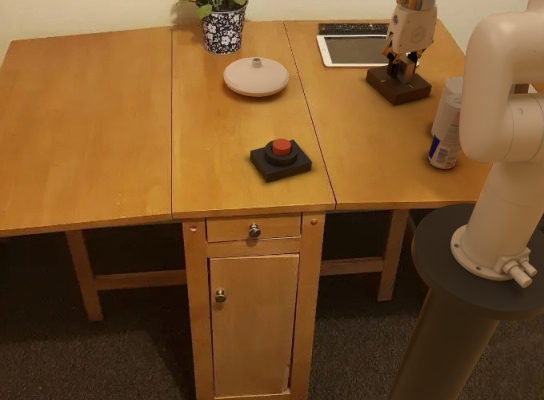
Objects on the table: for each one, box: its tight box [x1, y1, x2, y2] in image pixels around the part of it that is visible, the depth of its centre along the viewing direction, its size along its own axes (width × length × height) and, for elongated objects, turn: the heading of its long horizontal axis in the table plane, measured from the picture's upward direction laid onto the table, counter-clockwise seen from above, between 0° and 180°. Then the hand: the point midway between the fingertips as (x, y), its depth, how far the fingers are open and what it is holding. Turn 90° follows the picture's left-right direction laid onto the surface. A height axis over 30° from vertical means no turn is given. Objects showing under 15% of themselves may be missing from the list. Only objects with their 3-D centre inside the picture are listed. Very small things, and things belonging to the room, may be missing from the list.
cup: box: [430, 75, 463, 138], centre depth 123 cm, size 8×8×12 cm
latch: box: [394, 53, 415, 84], centre depth 136 cm, size 6×2×5 cm, turn 23°
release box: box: [249, 138, 313, 183], centre depth 118 cm, size 10×8×4 cm
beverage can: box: [427, 93, 462, 170], centre depth 115 cm, size 6×6×15 cm
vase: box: [223, 56, 290, 97], centre depth 138 cm, size 16×16×7 cm
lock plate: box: [365, 64, 433, 106], centre depth 139 cm, size 12×10×3 cm
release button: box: [272, 138, 291, 156], centre depth 116 cm, size 4×4×2 cm
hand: (400, 73), depth 137 cm, fingers open, 4 cm apart
